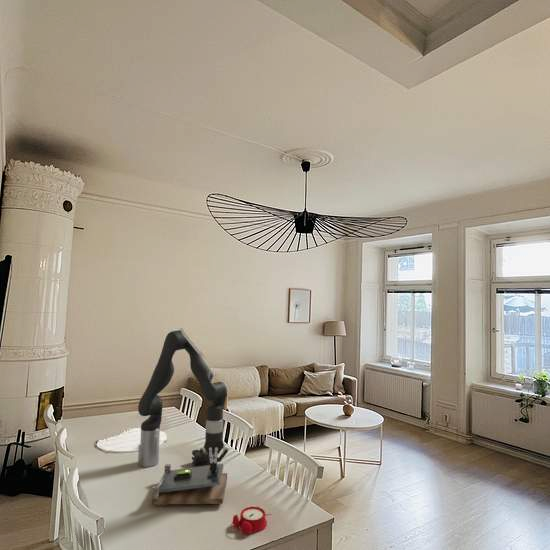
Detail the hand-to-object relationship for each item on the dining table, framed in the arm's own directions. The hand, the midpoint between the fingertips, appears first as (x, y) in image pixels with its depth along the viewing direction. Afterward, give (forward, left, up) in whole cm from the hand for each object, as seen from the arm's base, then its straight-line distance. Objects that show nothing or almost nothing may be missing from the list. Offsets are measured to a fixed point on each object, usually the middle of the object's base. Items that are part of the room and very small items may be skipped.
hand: (213, 471), depth 163 cm
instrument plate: (-9, 0, -3) cm, 10 cm away
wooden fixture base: (-9, 0, -9) cm, 13 cm away
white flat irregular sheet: (-55, +64, -10) cm, 85 cm away
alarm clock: (+16, -24, -10) cm, 31 cm away
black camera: (-9, +31, -10) cm, 34 cm away
